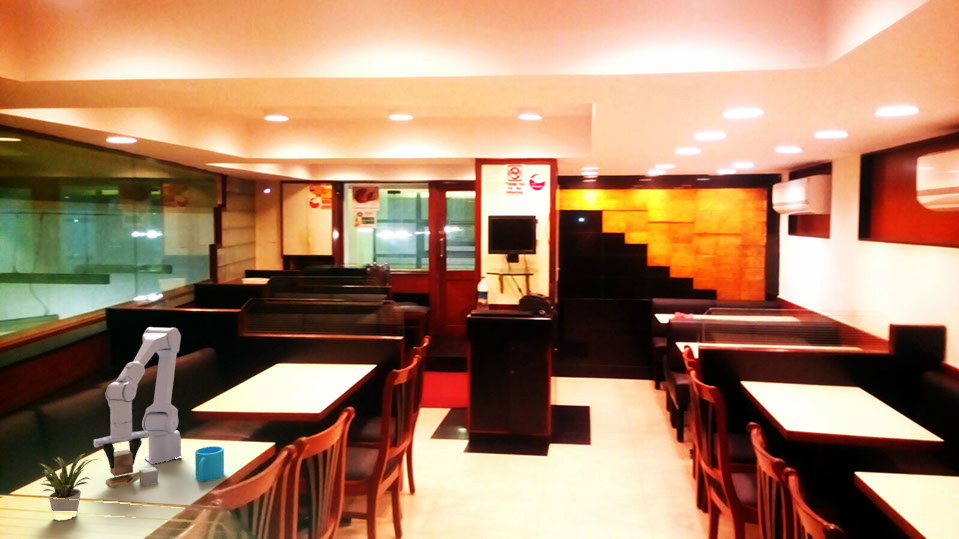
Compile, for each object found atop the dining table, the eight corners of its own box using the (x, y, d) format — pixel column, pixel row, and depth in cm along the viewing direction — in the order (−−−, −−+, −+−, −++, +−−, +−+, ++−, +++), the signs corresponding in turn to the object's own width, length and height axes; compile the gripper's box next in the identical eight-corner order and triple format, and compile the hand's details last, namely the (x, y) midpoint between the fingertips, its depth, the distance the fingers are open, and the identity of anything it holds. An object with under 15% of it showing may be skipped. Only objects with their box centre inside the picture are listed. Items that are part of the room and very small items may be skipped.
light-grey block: (153, 479, 200) (153, 466, 200) (157, 483, 197) (157, 470, 197) (139, 482, 197) (139, 469, 197) (143, 486, 194) (143, 473, 194)
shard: (143, 475, 205) (143, 469, 205) (152, 481, 199) (152, 475, 199) (105, 483, 197) (105, 478, 197) (112, 490, 192) (112, 484, 192)
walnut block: (128, 468, 202) (128, 449, 202) (133, 472, 199) (132, 452, 198) (110, 472, 199) (109, 452, 199) (114, 476, 195) (114, 456, 195)
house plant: (103, 501, 182) (102, 443, 182) (101, 520, 170) (100, 458, 170) (42, 510, 176) (40, 450, 175) (35, 530, 163) (34, 466, 163)
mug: (202, 471, 207) (201, 446, 207) (227, 471, 207) (227, 446, 207) (185, 485, 195) (185, 458, 195) (213, 485, 195) (212, 458, 195)
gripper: (97, 428, 190) (98, 474, 190) (151, 419, 200) (151, 463, 200) (91, 423, 195) (92, 468, 196) (144, 415, 205) (144, 458, 205)
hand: (121, 465), depth 198 cm, fingers closed on walnut block, 5 cm apart
